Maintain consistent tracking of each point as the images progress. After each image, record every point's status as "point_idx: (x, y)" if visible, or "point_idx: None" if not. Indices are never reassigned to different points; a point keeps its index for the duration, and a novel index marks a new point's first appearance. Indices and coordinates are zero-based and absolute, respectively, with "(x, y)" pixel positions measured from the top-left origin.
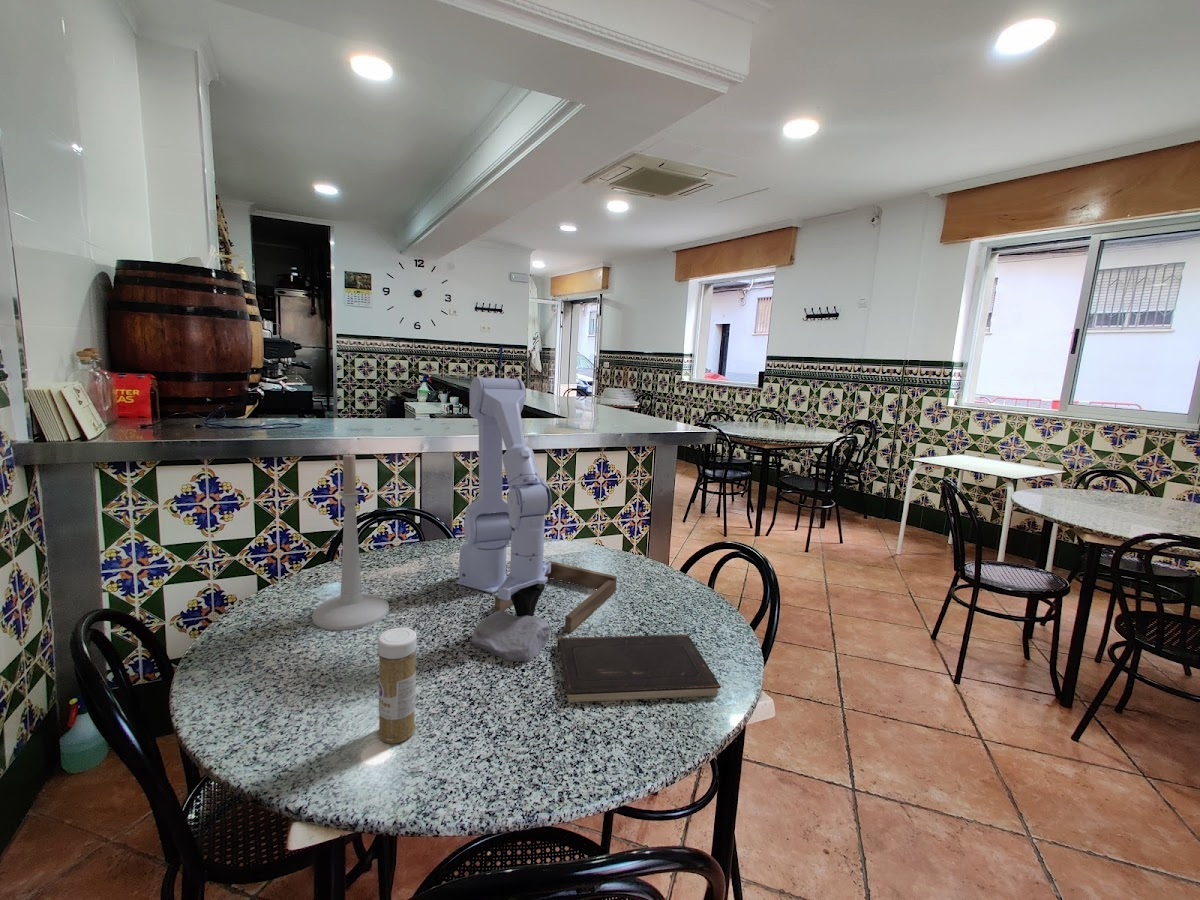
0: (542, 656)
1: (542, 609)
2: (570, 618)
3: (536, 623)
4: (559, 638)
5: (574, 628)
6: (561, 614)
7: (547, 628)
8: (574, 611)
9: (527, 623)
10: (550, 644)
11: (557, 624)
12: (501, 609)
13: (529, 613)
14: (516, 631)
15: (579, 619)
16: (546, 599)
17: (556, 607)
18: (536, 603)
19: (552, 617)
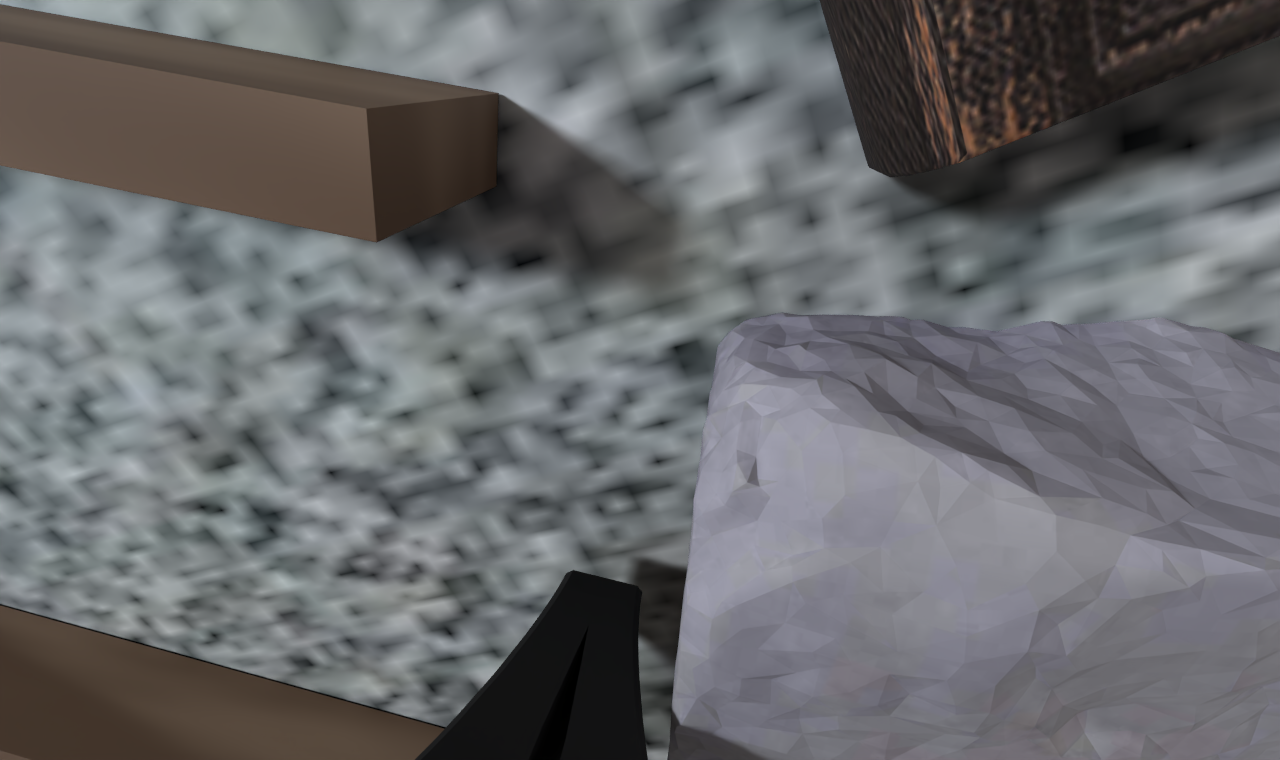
0: (1198, 263)
1: (243, 513)
2: (379, 134)
3: (1034, 638)
4: (974, 134)
5: (387, 75)
6: (196, 340)
7: (882, 408)
8: (138, 142)
9: (1007, 726)
10: (855, 260)
11: (392, 320)
12: None
13: (629, 712)
14: (1154, 757)
15: (191, 50)
16: (90, 521)
17: (128, 418)
18: (446, 752)
19: (303, 404)
